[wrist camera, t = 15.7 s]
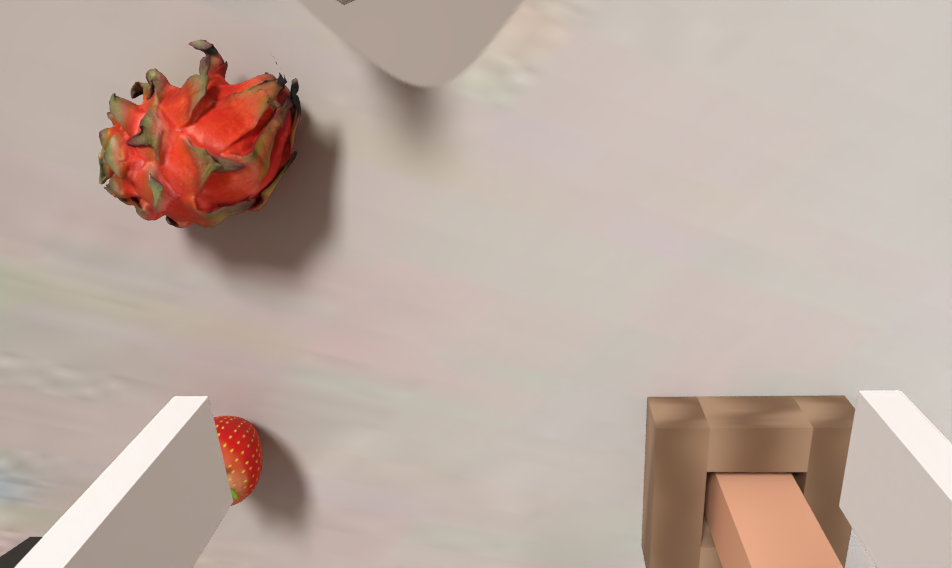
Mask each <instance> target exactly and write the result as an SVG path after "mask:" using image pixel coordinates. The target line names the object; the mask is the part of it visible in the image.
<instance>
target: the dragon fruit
mask: <svg viewBox="0 0 952 568" xmlns="http://www.w3.org/2000/svg"><path fill="white" fill-rule="evenodd" d="M189 45H191V46H193V47H194V48H195V49H198V50H201V51H203V52H204V53H205V54H206V57H203V58H202V59H201V61H200V67H199V72H200V75H196V74H195V75H193V76H190V77H189V78H188V79H187V81H186V82H185V83H184V85H183V86H182V88H178V87H175V86H172V85H171V84H170V83H169V82H168V80H167V79H166V77H165V76H164V75H163V74H162V73H160V72H159V71H158V70H157V69H150V70H149V71H148V72H147V73H146V79H147V81H148V83H149V84H148V83H140V82H135V84H134V85H133V86H132V88H131V97H132V99H133V98H136V97H138V96H139V95H141V94H143V102H142V104H141V105H136V104H134V103H132V102H130V101H128V100H126V99H124V98H120V97H118V96H115V93H114V94H113V95H112V96H111V99H110V101H109V104H110V112H108V113H107V114H108V118H109V119H110V120H111V121H112V123H113V125H114V127H111V128H106V129H103V130H102V131H100V132H99V138H100V141H101V145H102V147H103V148H102V150H101V153H99V155H98V158H99V164H100V177H99V183H100V184H104V183H105V182H106V180H107V179H109V178H110V180H109V184H108V185H106V186H107V187H104V189H106V190H107V191H108V192H109V193H110V194H111V195H113V196H114V197H116V198H118V199H119V200H121V201H122V202H123V203H125V204H127V205H134V206H135V208H136V212H137V213H138V215H139V216H140V217H142V218H143V219H145V220H157V219H159V218H160V217H162V216H164V215H166V221H167V222H168V224H170V225H173V226H175V227H178V228H183V227H186V226H190V225H193V224H197V225H199V226H202V227H213V226H216V225H217V224H219V223H220V222H221V221H222V220H223V219H225V218H226V217H228V216H230V215H234V214H237V213H241V212H245V211H249V210H251V211H257V210H260V209H261V208H262V207H263V206H264V205H265V204H266V202H267V201H268V198H269V196H270V194H271V193H272V192H273V191H274V189H275V187H276V185H277V184H278V183H279V181H280V180H281V178H282V176H283V175H284V173H285V172H286V171H287V170H288V169H289V167H290V166H291V164H292V163H293V161H294V160H295V158H296V155H297V152H296V151H294V153H293V154H292V151H293V146H294V140H295V131H296V127H297V125H298V122H299V119H300V115H301V107H300V101H299V97H298V96H297V95H296V94H297V92H298V89H299V85H298V81H297V79H296V78H295V79H293V80H292V85H291V92H290V91H289V89H288V88H287V87H286V86H285V84H286V83H287V80H286V79H285V75H284V79H283V77H282V75H281V74H280V72H279V75H280V76H279V78H278V79H277V78H275V76H273V75H271V74H269V73H267V72H266V73H265V74H263V75H259V76H256V77H254V78H252V79H250V80H248V81H246V82H243V83H240V84H236V85H230V84H228V83H227V82H226V81H225V74H226V70H227V66H228V64H227V61H226V62H225V63H224V60H223V59H222V57H221V55H220V54H219V53H218V51H217V50H216V48H215V47H214V46H213V44H210V43H209V42H207V41H206V40H197V41H194V42H190V43H189ZM272 57H274V56H272ZM276 64H277V63H276ZM285 165H286V166H285ZM287 167H288V168H287Z"/></svg>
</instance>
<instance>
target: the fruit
mask: <svg viewBox="0 0 952 568" xmlns="http://www.w3.org/2000/svg"><path fill="white" fill-rule="evenodd" d="M214 422H215V426H216V430H217V434H218V439H219V443H220V447H221V452H222V456H223V460H224V464H225V469H226V473H227V477H228V482H229V486H230V490H231V495H232V499H233V503H232V504H231V506H232V505H235V504H237V503H239V502H241V501H243V500H244V499H245V498H246V497H247V496H248V495H249V494H250V493H251V492H252V491H253V489H254V488H255V486H256V484H257V482H258V480H259V478H260V474H261V470H262V446H261V441H260V437H259V435H258V432H257V431H256V429H255V428H254V426H253V425H252V424H251V423H250V422H248V421H247V420H245V419H242V418H239V417H234V416H220V417H214Z"/></svg>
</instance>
